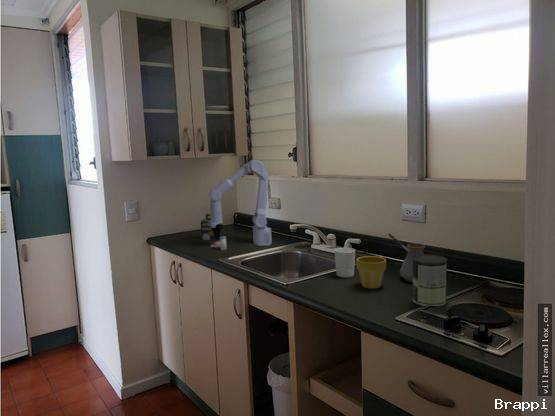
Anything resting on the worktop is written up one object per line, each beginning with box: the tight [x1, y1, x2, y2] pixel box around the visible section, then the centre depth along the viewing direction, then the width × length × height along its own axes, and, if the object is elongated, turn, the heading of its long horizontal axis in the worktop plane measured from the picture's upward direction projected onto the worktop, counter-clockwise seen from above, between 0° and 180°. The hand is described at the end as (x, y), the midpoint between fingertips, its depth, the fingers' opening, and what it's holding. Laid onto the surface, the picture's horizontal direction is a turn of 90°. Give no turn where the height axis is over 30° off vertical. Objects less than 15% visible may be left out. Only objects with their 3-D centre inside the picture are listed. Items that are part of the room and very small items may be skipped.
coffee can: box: [412, 254, 448, 307], centre depth 139 cm, size 10×10×14 cm
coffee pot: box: [385, 233, 426, 283], centre depth 166 cm, size 21×12×15 cm, turn 26°
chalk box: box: [199, 213, 222, 241], centre depth 245 cm, size 9×9×15 cm
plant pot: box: [355, 255, 387, 290], centre depth 157 cm, size 10×10×10 cm
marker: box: [219, 235, 228, 251], centre depth 217 cm, size 3×3×7 cm
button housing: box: [210, 242, 220, 248], centre depth 226 cm, size 6×6×2 cm
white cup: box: [334, 247, 356, 278], centre depth 171 cm, size 8×8×10 cm
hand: (217, 238), depth 226 cm, fingers closed
